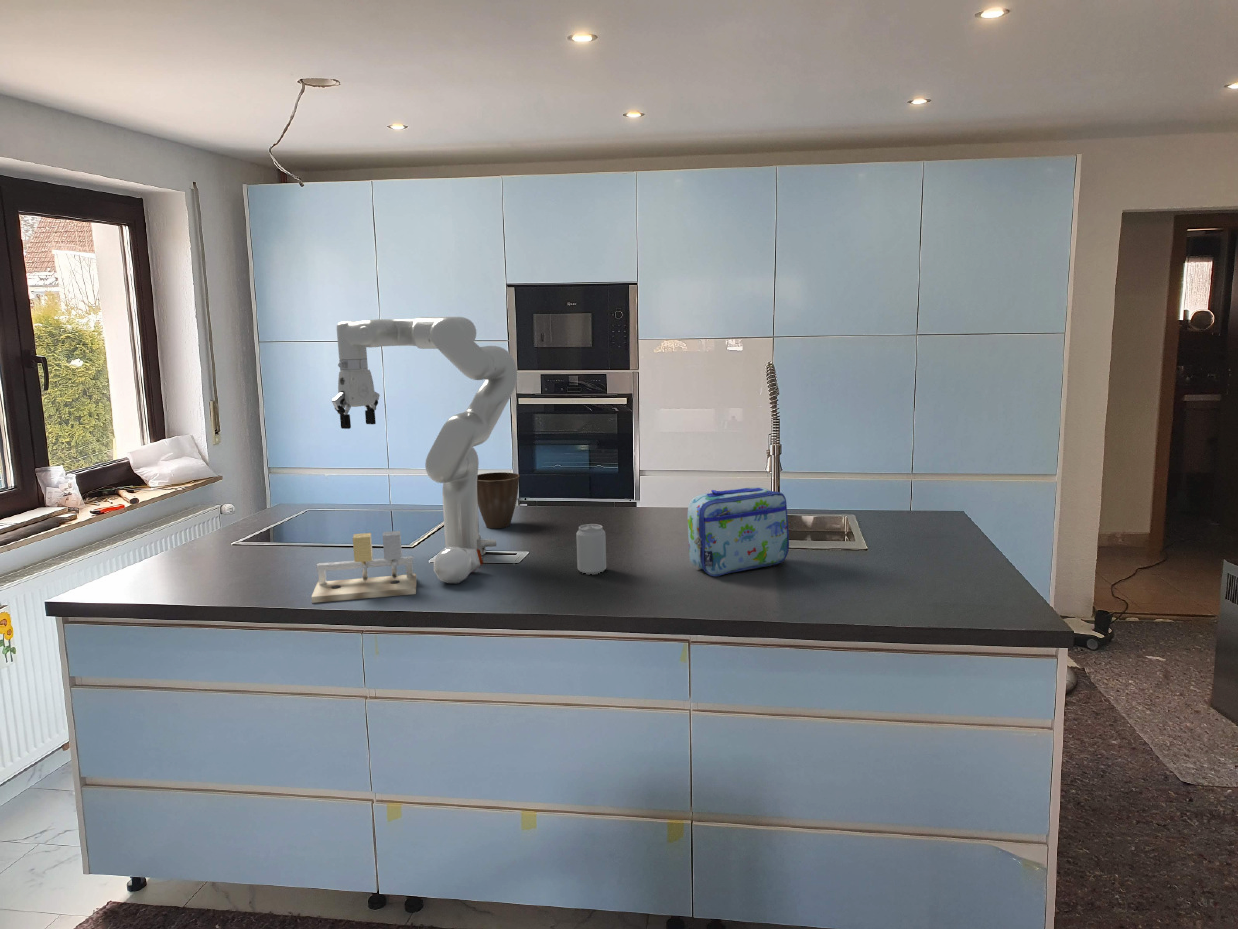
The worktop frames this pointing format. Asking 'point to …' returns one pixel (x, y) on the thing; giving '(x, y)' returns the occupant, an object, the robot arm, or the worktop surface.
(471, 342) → the robot arm
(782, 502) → the lunch box
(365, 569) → the block
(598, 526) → the can
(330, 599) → the hole plate
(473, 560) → the potion bottle
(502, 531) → the worktop surface
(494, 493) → the plant pot
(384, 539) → the trammel frame
